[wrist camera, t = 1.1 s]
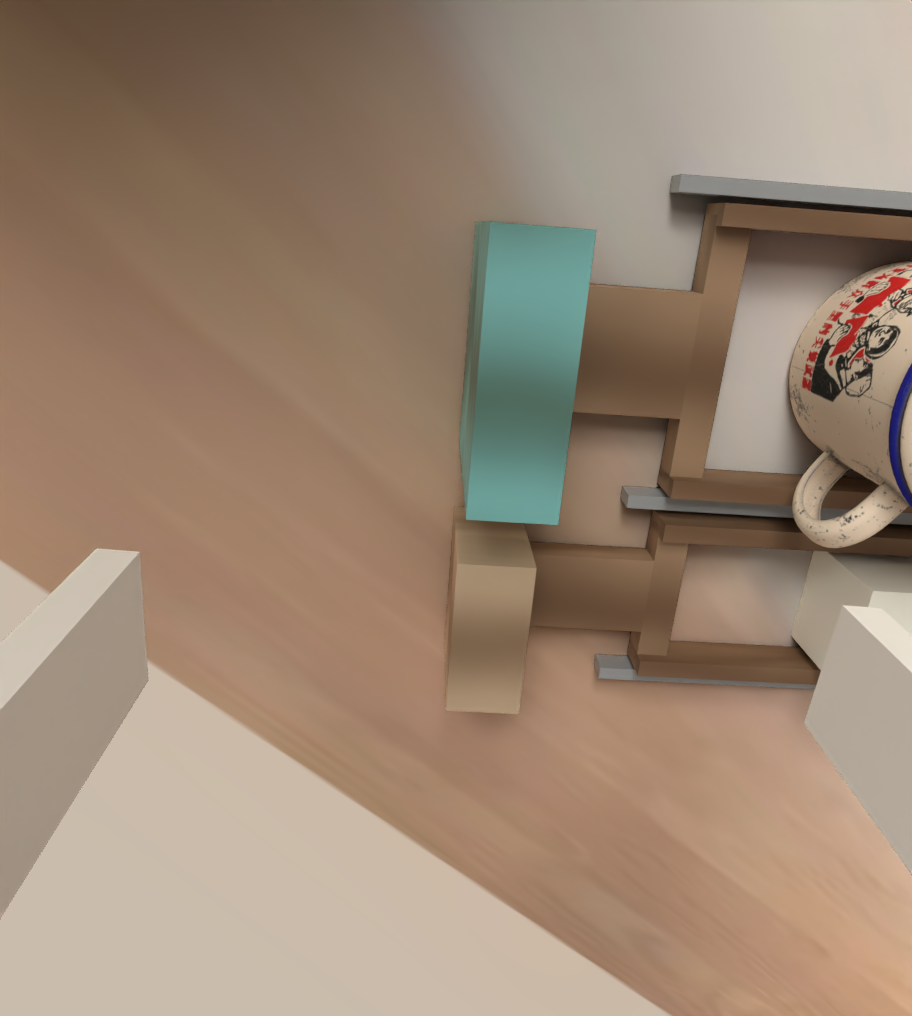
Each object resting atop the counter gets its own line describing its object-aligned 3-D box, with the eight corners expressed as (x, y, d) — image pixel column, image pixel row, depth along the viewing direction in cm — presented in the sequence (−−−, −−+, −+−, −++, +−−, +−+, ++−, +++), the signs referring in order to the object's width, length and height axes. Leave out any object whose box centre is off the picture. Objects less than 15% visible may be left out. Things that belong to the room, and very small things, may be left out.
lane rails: (672, 176, 29) (681, 174, 28) (1156, 214, 30) (1183, 214, 29) (594, 664, 37) (598, 678, 36) (977, 684, 38) (994, 698, 37)
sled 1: (478, 185, 29) (494, 171, 20) (1122, 236, 30) (1390, 242, 21) (457, 470, 33) (462, 556, 24) (1023, 505, 34) (1215, 598, 26)
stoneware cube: (815, 541, 35) (872, 591, 30) (918, 547, 35) (992, 597, 30) (790, 634, 37) (841, 694, 32) (888, 639, 37) (954, 700, 32)
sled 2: (455, 496, 33) (458, 551, 28) (1014, 530, 34) (1126, 589, 29) (444, 643, 36) (444, 720, 30) (963, 669, 37) (1055, 749, 32)
